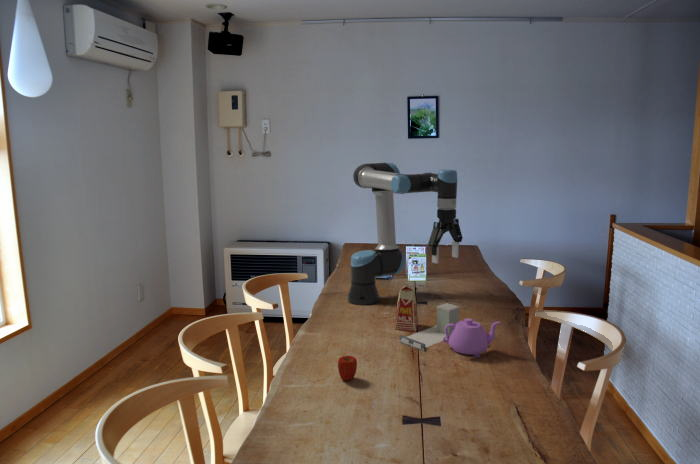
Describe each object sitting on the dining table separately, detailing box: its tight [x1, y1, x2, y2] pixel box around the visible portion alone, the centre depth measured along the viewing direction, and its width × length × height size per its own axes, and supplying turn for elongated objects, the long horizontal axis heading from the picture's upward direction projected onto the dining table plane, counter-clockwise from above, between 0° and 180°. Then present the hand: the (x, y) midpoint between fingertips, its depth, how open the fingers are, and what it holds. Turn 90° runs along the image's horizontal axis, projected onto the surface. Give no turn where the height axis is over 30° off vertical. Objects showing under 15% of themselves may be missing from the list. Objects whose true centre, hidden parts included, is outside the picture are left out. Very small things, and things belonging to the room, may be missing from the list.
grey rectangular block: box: [436, 302, 460, 335], centre depth 211 cm, size 6×6×10 cm
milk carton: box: [393, 282, 419, 332], centre depth 216 cm, size 9×9×20 cm
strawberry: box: [337, 355, 358, 382], centre depth 173 cm, size 6×6×8 cm
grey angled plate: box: [398, 325, 450, 352], centre depth 207 cm, size 12×24×3 cm, turn 131°
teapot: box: [442, 317, 501, 359], centre depth 193 cm, size 20×14×12 cm
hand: (445, 260), depth 220 cm, fingers open, 13 cm apart
